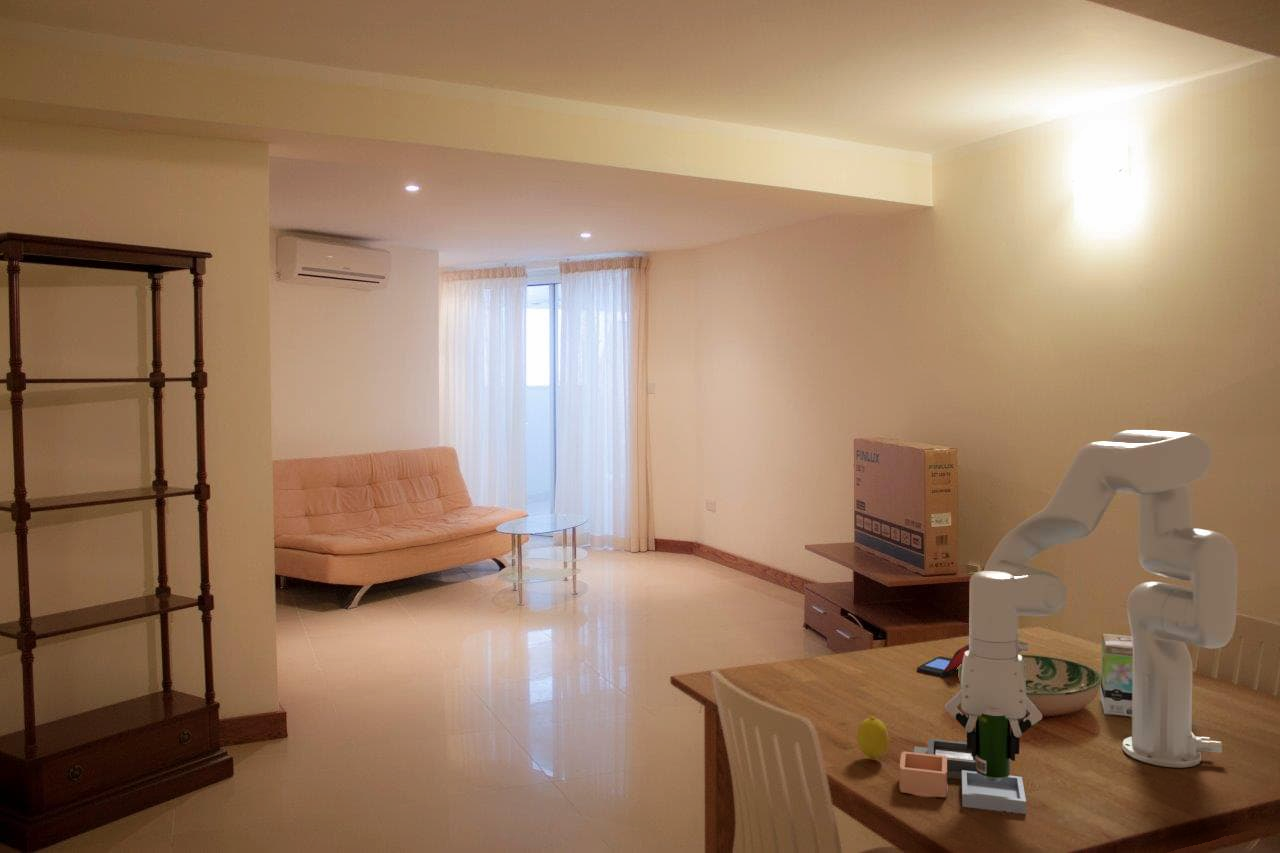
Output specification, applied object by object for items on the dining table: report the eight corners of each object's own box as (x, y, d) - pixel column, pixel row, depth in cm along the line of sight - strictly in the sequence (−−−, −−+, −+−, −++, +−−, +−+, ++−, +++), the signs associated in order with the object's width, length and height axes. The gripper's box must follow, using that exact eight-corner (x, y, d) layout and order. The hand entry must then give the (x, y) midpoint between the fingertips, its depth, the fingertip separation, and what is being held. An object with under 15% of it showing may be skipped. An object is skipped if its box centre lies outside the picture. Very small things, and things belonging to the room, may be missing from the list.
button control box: (994, 760, 170) (994, 744, 169) (997, 783, 160) (997, 766, 160) (914, 751, 174) (914, 735, 174) (912, 773, 164) (912, 756, 164)
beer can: (996, 785, 151) (996, 712, 150) (968, 773, 155) (968, 702, 155) (1016, 776, 154) (1017, 705, 153) (988, 765, 158) (989, 696, 157)
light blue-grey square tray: (1021, 788, 158) (1021, 776, 158) (1026, 814, 149) (1026, 801, 148) (961, 782, 161) (961, 770, 161) (962, 806, 152) (962, 793, 152)
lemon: (871, 768, 167) (871, 724, 167) (851, 757, 172) (850, 714, 171) (895, 761, 170) (894, 718, 169) (874, 751, 174) (874, 709, 174)
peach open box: (948, 780, 162) (948, 755, 161) (948, 800, 154) (948, 774, 154) (900, 774, 164) (900, 750, 164) (898, 794, 157) (897, 768, 156)
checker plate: (972, 756, 169) (972, 751, 169) (973, 770, 163) (973, 765, 163) (935, 752, 171) (935, 747, 171) (935, 766, 165) (935, 761, 165)
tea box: (1103, 716, 190) (1104, 644, 190) (1099, 700, 200) (1100, 632, 199) (1188, 725, 185) (1189, 651, 184) (1180, 708, 194) (1181, 638, 193)
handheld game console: (939, 660, 230) (939, 630, 230) (982, 669, 222) (982, 638, 222) (914, 672, 221) (914, 641, 221) (958, 682, 213) (958, 650, 213)
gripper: (1047, 645, 154) (1046, 752, 155) (938, 637, 160) (938, 741, 161) (1052, 658, 147) (1051, 771, 148) (938, 649, 152) (938, 758, 153)
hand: (992, 754), depth 154 cm, fingers closed on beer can, 5 cm apart
